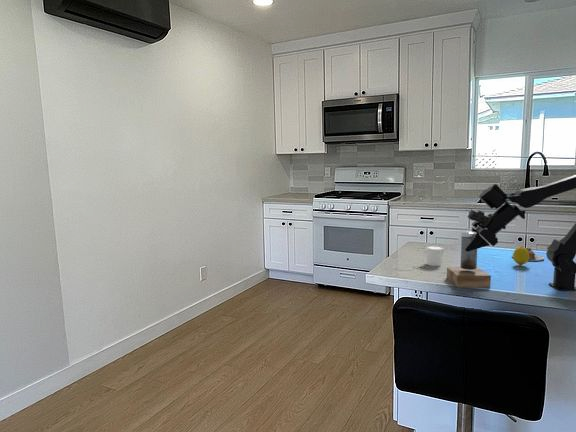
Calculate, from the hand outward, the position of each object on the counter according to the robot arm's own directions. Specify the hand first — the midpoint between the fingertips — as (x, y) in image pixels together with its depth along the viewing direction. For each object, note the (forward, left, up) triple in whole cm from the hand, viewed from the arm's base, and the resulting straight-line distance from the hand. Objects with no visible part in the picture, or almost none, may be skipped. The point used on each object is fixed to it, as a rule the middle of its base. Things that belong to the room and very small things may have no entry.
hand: (464, 248), depth 147 cm
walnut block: (0, -1, -12) cm, 12 cm away
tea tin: (0, -1, -7) cm, 7 cm away
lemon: (+21, -30, -12) cm, 39 cm away
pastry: (+33, -39, -13) cm, 53 cm away
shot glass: (+25, +3, -12) cm, 28 cm away
